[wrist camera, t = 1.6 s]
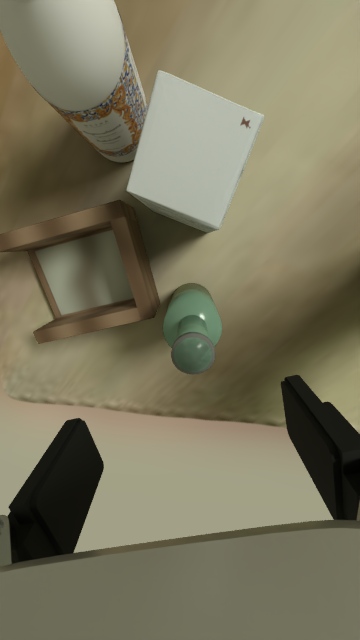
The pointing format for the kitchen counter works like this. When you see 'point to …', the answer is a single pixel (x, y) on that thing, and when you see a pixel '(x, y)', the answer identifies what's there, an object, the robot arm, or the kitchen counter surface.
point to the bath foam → (80, 68)
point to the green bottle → (192, 328)
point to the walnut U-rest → (89, 269)
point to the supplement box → (191, 152)
